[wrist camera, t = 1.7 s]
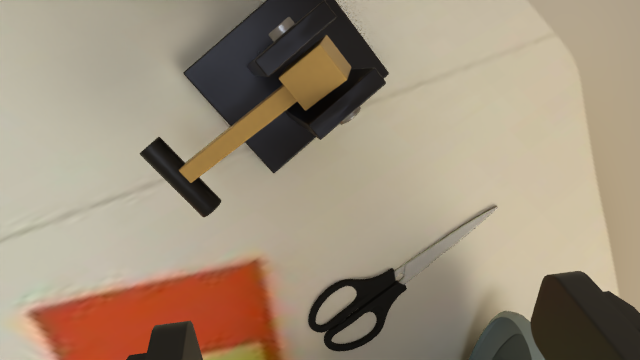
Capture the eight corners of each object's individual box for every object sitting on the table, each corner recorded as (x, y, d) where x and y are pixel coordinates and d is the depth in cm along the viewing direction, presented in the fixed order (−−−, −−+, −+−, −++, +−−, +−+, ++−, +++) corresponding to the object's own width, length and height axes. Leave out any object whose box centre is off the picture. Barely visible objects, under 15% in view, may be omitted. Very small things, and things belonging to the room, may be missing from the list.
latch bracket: (272, 170, 37) (295, 224, 24) (184, 73, 34) (154, 71, 21) (384, 73, 37) (470, 72, 23) (305, -33, 34) (353, -102, 21)
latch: (211, 205, 30) (197, 225, 28) (150, 143, 29) (131, 160, 27) (370, 91, 25) (367, 105, 23) (306, 7, 23) (297, 15, 21)
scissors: (474, 173, 41) (296, 309, 40) (479, 176, 40) (297, 314, 40) (508, 229, 43) (338, 358, 42) (514, 232, 42) (340, 364, 42)
